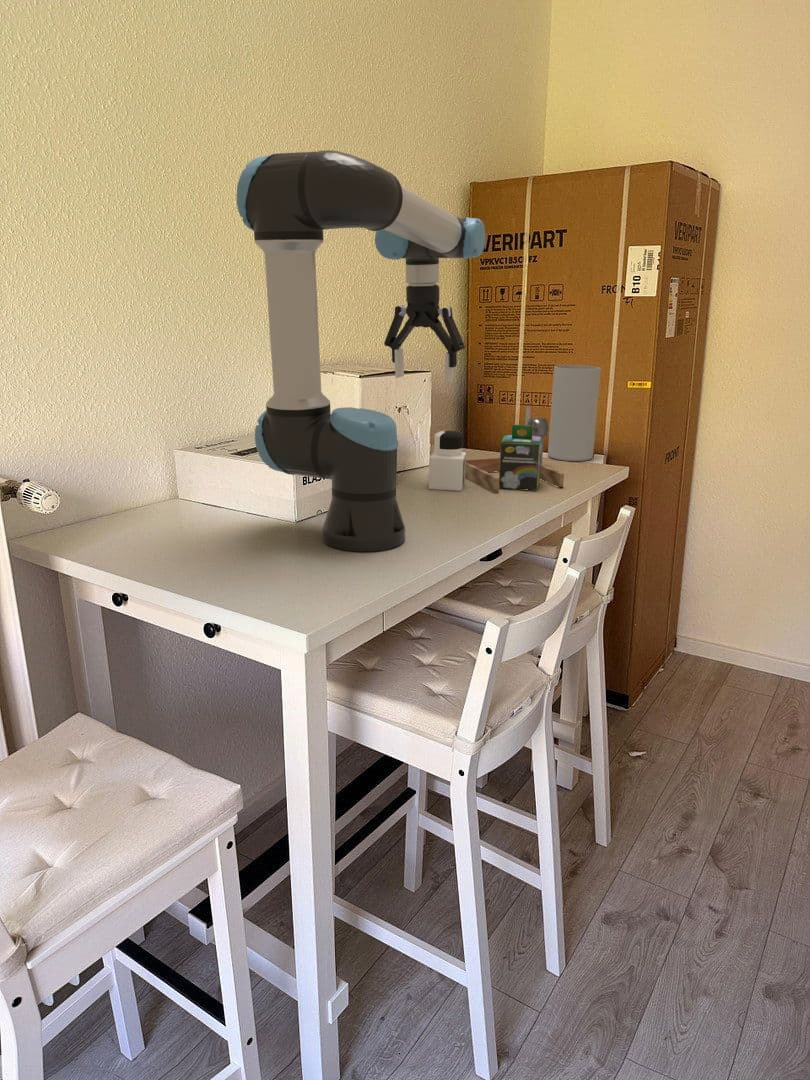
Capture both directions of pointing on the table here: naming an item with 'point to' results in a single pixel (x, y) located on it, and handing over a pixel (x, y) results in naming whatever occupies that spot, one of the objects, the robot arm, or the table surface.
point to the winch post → (537, 427)
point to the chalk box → (520, 459)
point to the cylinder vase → (573, 412)
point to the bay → (481, 467)
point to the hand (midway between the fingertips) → (424, 379)
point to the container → (447, 462)
